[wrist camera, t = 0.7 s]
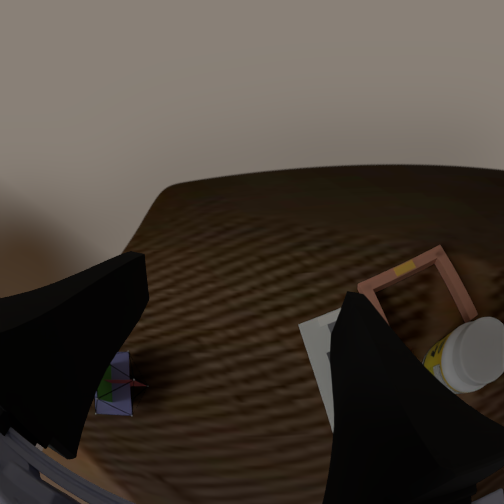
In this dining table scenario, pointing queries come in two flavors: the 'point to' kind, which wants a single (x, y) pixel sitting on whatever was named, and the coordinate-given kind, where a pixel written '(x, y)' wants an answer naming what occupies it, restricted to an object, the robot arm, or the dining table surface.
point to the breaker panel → (321, 354)
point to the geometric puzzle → (117, 388)
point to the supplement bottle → (468, 355)
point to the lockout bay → (413, 267)
